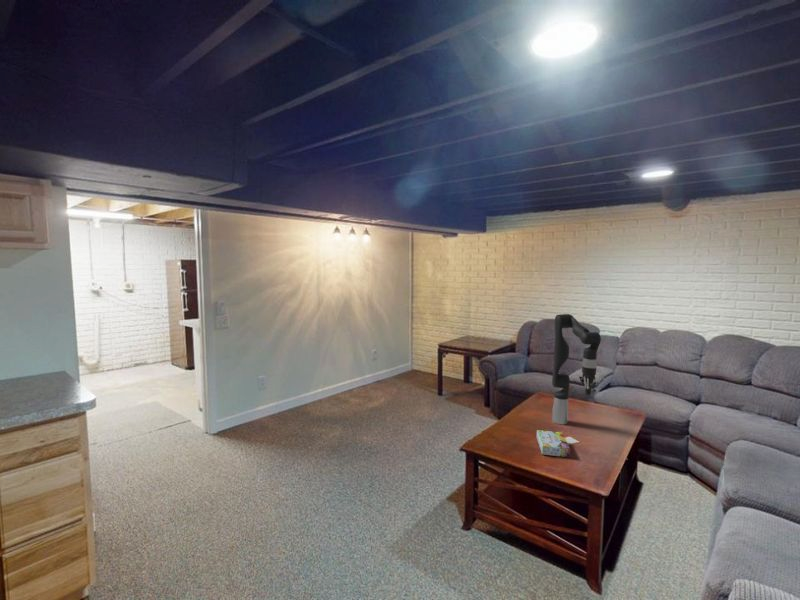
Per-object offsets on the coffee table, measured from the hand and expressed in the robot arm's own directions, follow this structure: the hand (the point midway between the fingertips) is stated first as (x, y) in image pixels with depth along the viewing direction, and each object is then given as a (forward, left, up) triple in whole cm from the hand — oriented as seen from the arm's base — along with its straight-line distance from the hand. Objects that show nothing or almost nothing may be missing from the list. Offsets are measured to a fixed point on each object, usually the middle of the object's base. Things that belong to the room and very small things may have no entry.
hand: (587, 394), depth 235 cm
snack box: (+1, -16, -28) cm, 32 cm away
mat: (-8, -13, -31) cm, 34 cm away
